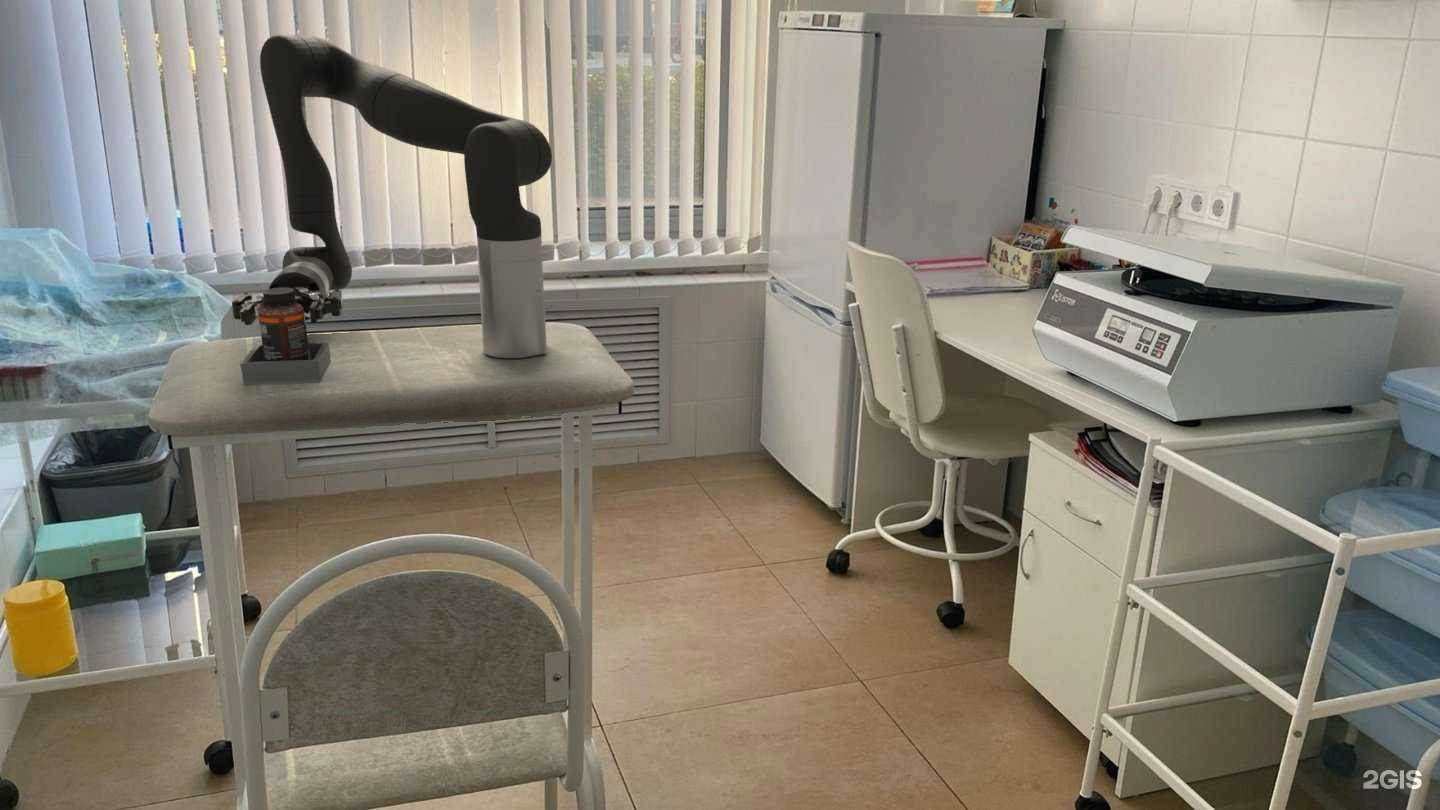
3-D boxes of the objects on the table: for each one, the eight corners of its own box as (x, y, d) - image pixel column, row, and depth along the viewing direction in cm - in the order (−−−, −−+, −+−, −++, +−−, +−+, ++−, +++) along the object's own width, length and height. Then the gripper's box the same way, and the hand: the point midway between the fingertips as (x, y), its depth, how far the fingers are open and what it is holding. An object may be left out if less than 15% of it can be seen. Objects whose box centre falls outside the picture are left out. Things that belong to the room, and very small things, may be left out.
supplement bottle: (318, 364, 161) (309, 286, 157) (299, 377, 155) (290, 295, 151) (278, 363, 161) (268, 284, 158) (257, 375, 156) (247, 294, 152)
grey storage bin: (330, 361, 164) (328, 341, 163) (320, 382, 154) (318, 360, 153) (258, 364, 162) (255, 344, 161) (243, 385, 153) (240, 363, 152)
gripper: (246, 267, 167) (220, 291, 152) (347, 264, 169) (332, 287, 154) (252, 316, 169) (228, 345, 154) (352, 313, 172) (337, 341, 157)
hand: (280, 316), depth 154 cm, fingers open, 8 cm apart
